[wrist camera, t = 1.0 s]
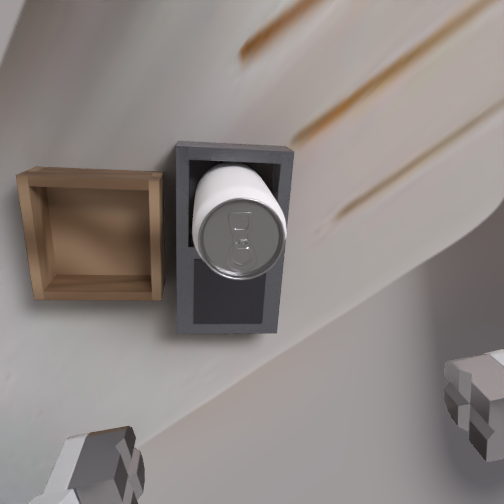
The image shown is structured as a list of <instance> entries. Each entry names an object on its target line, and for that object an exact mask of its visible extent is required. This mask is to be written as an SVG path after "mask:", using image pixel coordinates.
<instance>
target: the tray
mask: <svg viewBox="0 0 504 504" xmlns="http://www.w3.org/2000/svg"><path fill="white" fill-rule="evenodd" d="M293 159H294V151H292V150H291V149H289V148H288V147H286V146H267V145H247V144H227V143H208V142H188V141H178V143H177V145H176V274H177V334H248V333H277V325H278V315H279V304H280V294H281V284H282V273H283V263H284V253H285V244H284V249H283V252H282V254H281V256H280V258H279V260H278V261H277V262H276V264H275V265H274V266H273V267H272V268H271V269H270V270H269V271H267V272H266V273H264V274H262V275H261V276H258V277H256V278H253V279H248V280H232V279H228V278H225V277H222V276H220V275H218V274H217V273H215V272H214V271H212V270H211V269H210V268H209V267H208V266H207V264H206V263H205V262H204V261H203V260H202V258H201V257H200V256H199V254H198V252H197V250H196V248H195V245H194V241H193V236H192V234H190V160H209V161H231V162H253V163H274V165H273V178H272V190H271V193H272V195H273V196H274V198H275V199H276V201H277V203H278V204H279V206H280V208H281V210H282V212H283V214H284V217H285V221H286V232H287V221H288V211H289V201H290V190H291V180H292V170H293ZM285 242H286V239H285Z"/></svg>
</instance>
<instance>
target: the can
mask: <svg viewBox="0 0 504 504" xmlns="http://www.w3.org/2000/svg"><path fill="white" fill-rule="evenodd" d="M192 236H193V241H194V245H195V248H196V250H197V252H198V254H199V256H200V257H201V258H202V260H203V261H204V262H205V263H206V264H207V266H208V267H209V268H210V269H211V270H212V271H214V272H215V273H217V274H218V275H220V276H222V277H225V278H228V279H232V280H248V279H253V278H256V277H258V276H261V275H262V274H264V273H266V272H267V271H269V270H270V269H271V268H272V267H273V266H274V265H275V264H276V262H277V261H278V260H279V258H280V256H281V254H282V252H283V249H284V244H285V239H286V221H285V217H284V214H283V212H282V210H281V208H280V206H279V204H278V203H277V201H276V199H275V198H274V196H273V195H272V193H271V192H270V190H269V189H268V187H267V186H266V184H265V183H264V181H263V180H262V179H261V177H260V176H259V175H258V174H257V173H256V172H255V171H254V170H253V169H252V168H250V167H249V166H247V165H244V164H242V163H237V162H225V163H221V164H218V165H215V166H213V167H212V168H210V169H209V170H208V171H207V172H206V173H205V174H204V175H203V176H202V177H201V179H200V181H199V183H198V185H197V188H196V193H195V201H194V211H193V223H192Z"/></svg>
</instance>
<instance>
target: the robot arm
mask: <svg viewBox="0 0 504 504" xmlns="http://www.w3.org/2000/svg"><path fill="white" fill-rule="evenodd" d="M444 375H445V376H446V377H447V379H448V380H449V383H448V384H447V386H446V387H445V388H444V400H445V404H446V407H447V410H448V412H449V414H450V416H451V418H452V419H453V421H454V422H455V423H456V425H457V426H458V427H460V428H462V429H464V430H466V431H468V432H469V441H470V443H471V444H472V445H473V446H474V448H475V449H476V450H477V451H478V452H479V454H480V455H481V456H482V457H483V459H484V460H485V461H486V462H490V461H495V460H501V459H504V349H502V350H497V351H493V352H488V353H485V354H481V355H476V356H472V357H467V358H462V359H457V360H453V361H448V362H446V365H445V369H444ZM135 440H136V437H135V434H134V431H133V429H132V427H130V426H125V427H120V428H114V429H108V430H103V431H97V432H91V433H89V434H82V435H77V436H71V437H69V438H68V439H67V440H66V441H65V442H64V444H63V447H62V449H61V451H60V454H59V456H58V458H57V461H56V463H55V466H54V468H53V470H52V473H51V475H50V477H49V480H48V482H47V484H46V487H45V489H44V492H43V494H42V495H40V496H36V497H35V498H33V499H32V500H31V501H30V502H29V503H28V504H138V502H137V500H138V498H139V497H140V496H141V495H142V493H143V490H144V482H145V476H144V475H145V469H144V463H143V458H142V455H141V452H140V451H139V450H138V449H136V448H135V447H134V445H135Z"/></svg>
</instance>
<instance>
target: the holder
mask: <svg viewBox="0 0 504 504" xmlns="http://www.w3.org/2000/svg"><path fill="white" fill-rule="evenodd" d="M16 180H17V187H18V194H19V200H20V207H21V214H22V221H23V228H24V234H25V241H26V248H27V255H28V262H29V269H30V275H31V282H32V289H33V296H34V300H162V295H163V290H164V285H165V232H164V172H153V171H128V170H104V169H80V168H56V167H34V168H31V169H29V170H27V171H25V172H22V173H20V174H18V175H16Z"/></svg>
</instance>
